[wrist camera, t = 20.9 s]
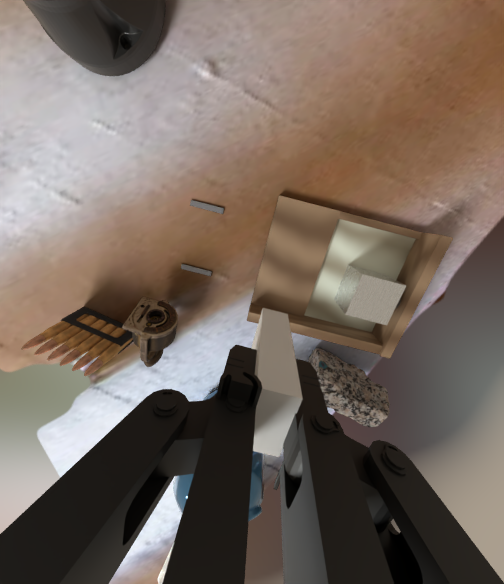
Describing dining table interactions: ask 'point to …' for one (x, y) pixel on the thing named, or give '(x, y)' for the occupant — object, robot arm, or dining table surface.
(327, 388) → the rock
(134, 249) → the dining table surface
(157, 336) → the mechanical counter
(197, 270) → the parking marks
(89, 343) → the ammunition clip
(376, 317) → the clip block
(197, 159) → the dining table surface
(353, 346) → the wooden shallow box
